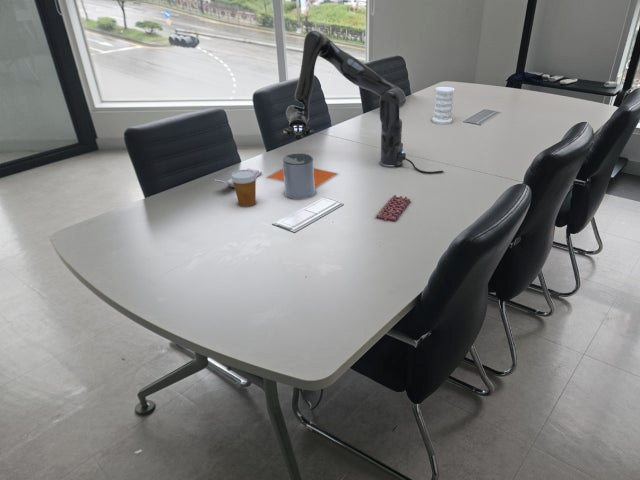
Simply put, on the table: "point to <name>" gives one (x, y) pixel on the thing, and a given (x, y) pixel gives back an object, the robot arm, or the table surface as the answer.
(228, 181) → the grey white handled utensil
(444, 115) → the decorative container
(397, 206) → the red flat knobbed bar
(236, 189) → the disposable coffee cup
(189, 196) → the table surface
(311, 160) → the crock
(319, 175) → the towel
